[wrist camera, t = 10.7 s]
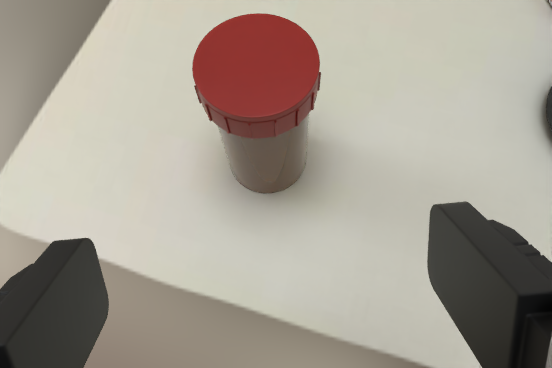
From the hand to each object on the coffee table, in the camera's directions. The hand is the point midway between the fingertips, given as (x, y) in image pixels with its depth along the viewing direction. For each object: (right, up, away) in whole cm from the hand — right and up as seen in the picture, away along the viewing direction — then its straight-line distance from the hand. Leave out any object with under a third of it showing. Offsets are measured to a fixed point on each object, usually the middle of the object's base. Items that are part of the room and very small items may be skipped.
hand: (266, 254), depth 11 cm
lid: (-1, +7, +9) cm, 12 cm away
